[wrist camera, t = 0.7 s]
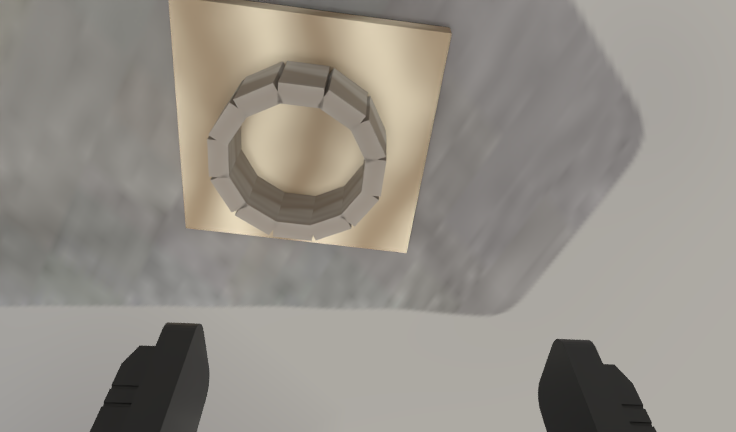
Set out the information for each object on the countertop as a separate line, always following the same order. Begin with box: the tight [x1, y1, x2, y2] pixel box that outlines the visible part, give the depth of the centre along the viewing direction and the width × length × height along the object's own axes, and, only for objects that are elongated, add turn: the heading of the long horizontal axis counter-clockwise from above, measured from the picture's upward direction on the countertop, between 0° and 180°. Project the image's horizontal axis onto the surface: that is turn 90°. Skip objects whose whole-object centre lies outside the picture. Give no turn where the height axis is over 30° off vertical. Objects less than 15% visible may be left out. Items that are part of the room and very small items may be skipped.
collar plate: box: [169, 0, 452, 253], centre depth 35 cm, size 16×16×5 cm
